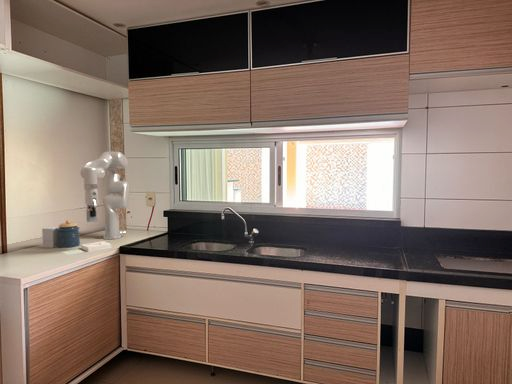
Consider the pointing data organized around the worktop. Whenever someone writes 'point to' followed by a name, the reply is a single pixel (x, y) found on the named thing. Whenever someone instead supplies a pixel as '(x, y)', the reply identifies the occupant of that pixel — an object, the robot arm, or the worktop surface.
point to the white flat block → (95, 246)
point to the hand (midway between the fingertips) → (91, 216)
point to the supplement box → (50, 237)
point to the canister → (68, 235)
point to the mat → (72, 252)
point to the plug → (91, 219)
